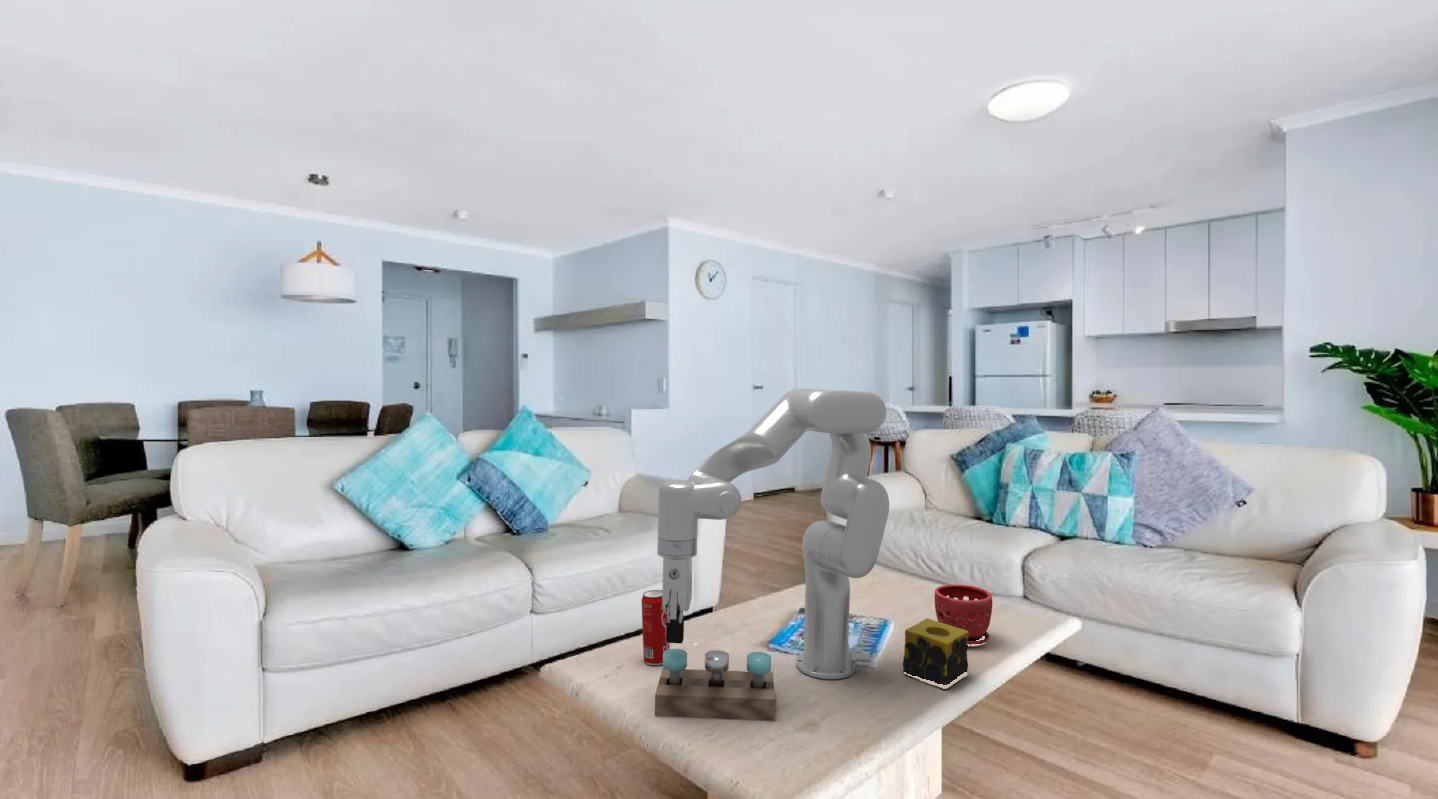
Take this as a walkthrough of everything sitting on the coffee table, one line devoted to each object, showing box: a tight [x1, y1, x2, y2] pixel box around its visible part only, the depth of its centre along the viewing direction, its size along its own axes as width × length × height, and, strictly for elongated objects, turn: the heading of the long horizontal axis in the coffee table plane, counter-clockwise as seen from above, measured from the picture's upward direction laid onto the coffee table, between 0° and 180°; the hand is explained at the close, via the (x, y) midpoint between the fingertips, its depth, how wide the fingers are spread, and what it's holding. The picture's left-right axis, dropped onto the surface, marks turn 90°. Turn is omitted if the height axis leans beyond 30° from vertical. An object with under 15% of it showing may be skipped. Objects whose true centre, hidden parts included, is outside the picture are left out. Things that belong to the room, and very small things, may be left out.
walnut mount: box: [654, 667, 776, 722], centre depth 128 cm, size 22×11×4 cm, turn 88°
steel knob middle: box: [704, 649, 730, 687], centre depth 128 cm, size 5×5×6 cm
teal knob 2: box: [746, 651, 772, 689], centre depth 127 cm, size 5×5×6 cm
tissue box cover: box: [902, 618, 969, 685], centre depth 142 cm, size 10×10×10 cm
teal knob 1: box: [662, 648, 688, 685], centre depth 128 cm, size 5×5×6 cm
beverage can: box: [641, 589, 671, 666], centre depth 146 cm, size 6×6×15 cm
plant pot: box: [934, 584, 993, 645], centre depth 162 cm, size 13×13×12 cm
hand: (674, 641), depth 128 cm, fingers closed
